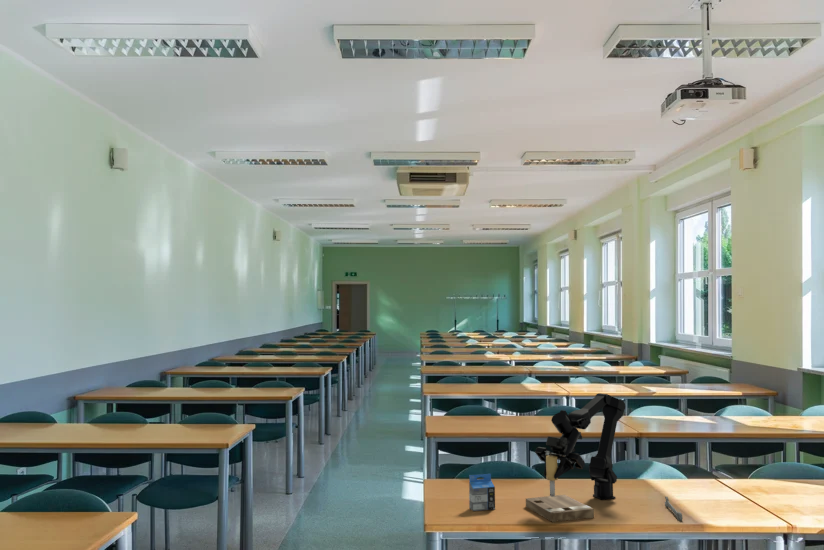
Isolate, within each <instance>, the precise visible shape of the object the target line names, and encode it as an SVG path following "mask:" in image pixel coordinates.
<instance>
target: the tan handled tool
mask: <svg viewBox="0 0 824 550" xmlns="http://www.w3.org/2000/svg"><path fill="white" fill-rule="evenodd" d="M557 468H558V460H557V456H553V455H549V456H546V481H549V496H551V497H555V496H556V484H555V483H556V481H558V480H559V477H558V478H557V479H555V478H554V475H555V472H556V470H557Z"/></svg>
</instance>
